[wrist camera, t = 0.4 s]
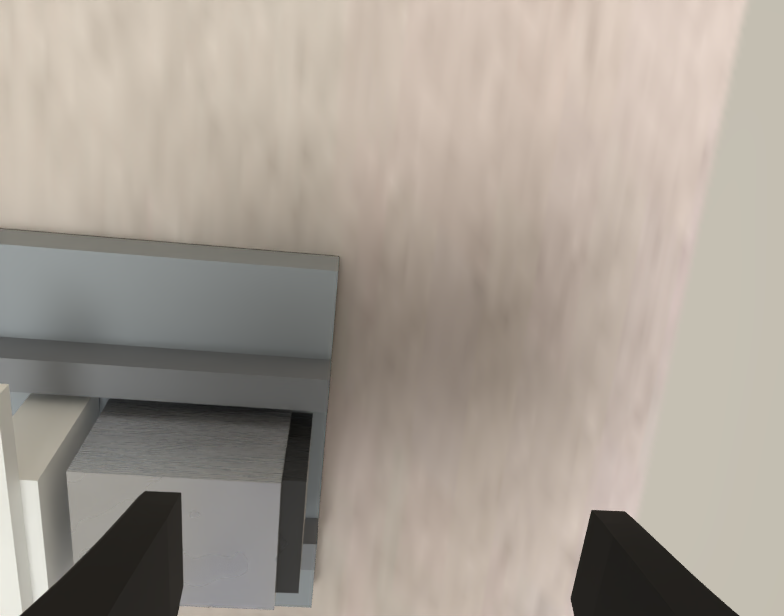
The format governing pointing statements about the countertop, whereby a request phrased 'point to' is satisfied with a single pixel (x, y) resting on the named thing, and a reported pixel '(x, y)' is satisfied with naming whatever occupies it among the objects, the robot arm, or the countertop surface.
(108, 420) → the grey rail carriage
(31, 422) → the off-white rectangular block
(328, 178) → the countertop surface
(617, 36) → the countertop surface
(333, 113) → the countertop surface
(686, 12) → the countertop surface
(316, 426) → the gauge board
